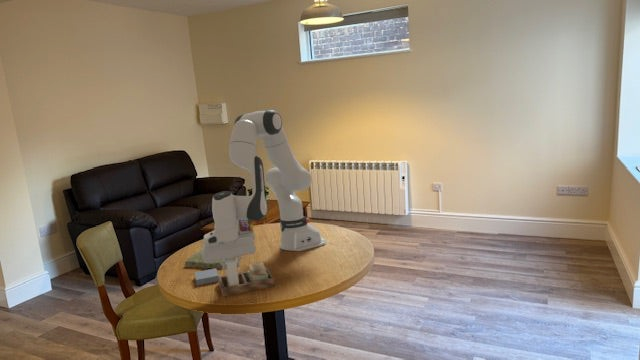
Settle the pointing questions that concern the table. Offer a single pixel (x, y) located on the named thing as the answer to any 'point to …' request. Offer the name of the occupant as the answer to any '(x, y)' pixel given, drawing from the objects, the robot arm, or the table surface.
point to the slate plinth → (206, 276)
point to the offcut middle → (257, 277)
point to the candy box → (245, 225)
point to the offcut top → (257, 269)
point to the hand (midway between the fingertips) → (231, 268)
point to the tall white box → (231, 272)
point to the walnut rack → (245, 284)
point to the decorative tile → (202, 261)
